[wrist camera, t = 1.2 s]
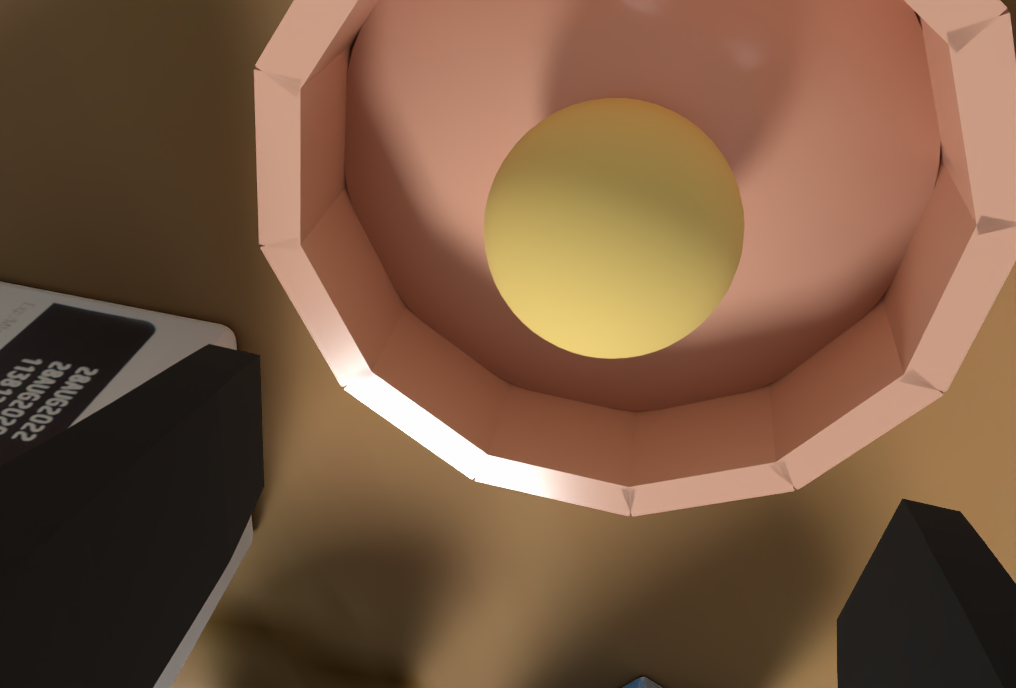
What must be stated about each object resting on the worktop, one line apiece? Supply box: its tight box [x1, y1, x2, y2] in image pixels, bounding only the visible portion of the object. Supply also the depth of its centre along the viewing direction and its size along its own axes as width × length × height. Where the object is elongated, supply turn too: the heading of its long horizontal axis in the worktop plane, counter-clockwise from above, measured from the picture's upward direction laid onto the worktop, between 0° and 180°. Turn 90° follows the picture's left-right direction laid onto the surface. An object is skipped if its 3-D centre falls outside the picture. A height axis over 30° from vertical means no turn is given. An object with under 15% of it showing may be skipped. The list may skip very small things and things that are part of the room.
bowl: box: [254, 0, 1016, 517], centre depth 17 cm, size 13×13×3 cm
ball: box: [484, 98, 745, 359], centre depth 16 cm, size 4×4×4 cm
